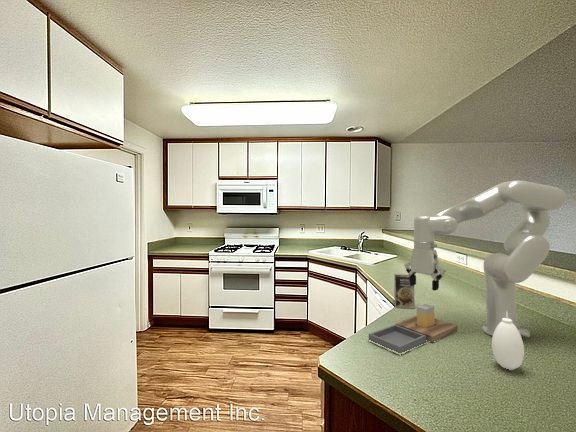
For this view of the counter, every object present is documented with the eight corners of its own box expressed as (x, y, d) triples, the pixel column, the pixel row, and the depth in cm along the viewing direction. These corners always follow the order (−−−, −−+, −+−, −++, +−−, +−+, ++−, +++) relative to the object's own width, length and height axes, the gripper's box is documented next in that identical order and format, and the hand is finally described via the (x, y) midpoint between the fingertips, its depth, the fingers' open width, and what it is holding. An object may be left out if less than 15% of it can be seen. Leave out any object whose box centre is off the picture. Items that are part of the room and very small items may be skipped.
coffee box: (395, 308, 148) (395, 276, 147) (394, 304, 154) (393, 274, 154) (415, 309, 145) (414, 277, 145) (412, 305, 152) (412, 274, 152)
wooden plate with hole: (457, 331, 118) (457, 325, 118) (432, 343, 108) (432, 336, 108) (420, 319, 131) (420, 314, 131) (395, 329, 121) (395, 323, 121)
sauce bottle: (486, 365, 92) (485, 308, 92) (503, 360, 95) (502, 305, 95) (513, 377, 85) (512, 316, 84) (530, 372, 87) (529, 312, 87)
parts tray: (426, 343, 108) (425, 335, 108) (400, 356, 99) (399, 347, 99) (394, 331, 119) (394, 324, 119) (368, 341, 110) (368, 334, 110)
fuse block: (434, 330, 119) (434, 306, 119) (426, 334, 116) (425, 309, 116) (425, 327, 123) (425, 303, 123) (417, 330, 119) (416, 306, 119)
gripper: (450, 247, 114) (449, 290, 114) (410, 243, 128) (410, 282, 129) (439, 248, 110) (439, 293, 110) (399, 244, 124) (399, 284, 124)
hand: (423, 287), depth 119 cm, fingers open, 9 cm apart
